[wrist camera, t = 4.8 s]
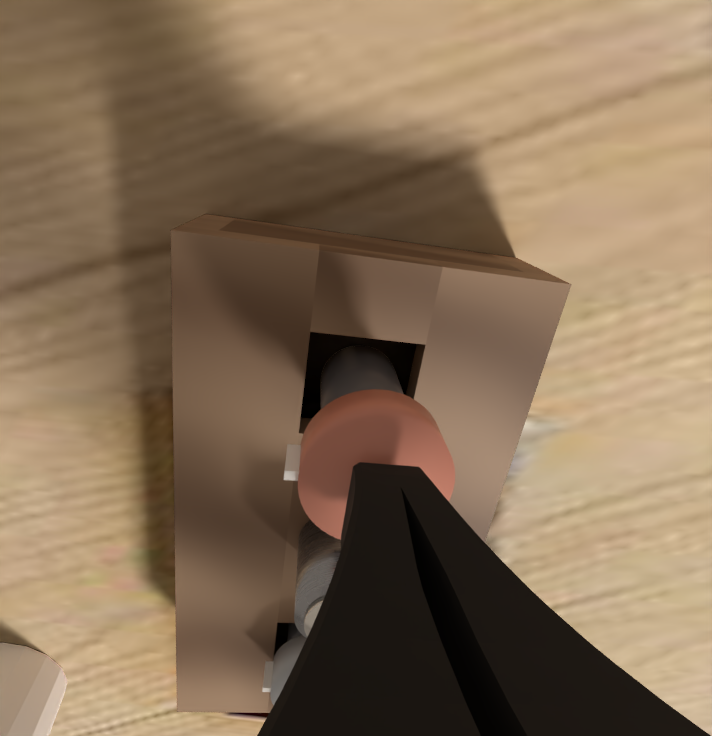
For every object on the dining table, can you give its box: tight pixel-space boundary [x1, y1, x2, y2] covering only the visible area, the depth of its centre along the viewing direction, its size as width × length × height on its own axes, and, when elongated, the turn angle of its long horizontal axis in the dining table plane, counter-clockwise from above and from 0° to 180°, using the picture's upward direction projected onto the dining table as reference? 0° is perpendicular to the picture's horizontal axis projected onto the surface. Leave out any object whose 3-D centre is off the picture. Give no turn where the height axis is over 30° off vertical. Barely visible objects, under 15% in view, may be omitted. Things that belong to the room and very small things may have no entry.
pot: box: [294, 520, 341, 638], centre depth 14 cm, size 3×3×4 cm
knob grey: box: [262, 623, 307, 705], centre depth 20 cm, size 3×4×5 cm
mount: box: [171, 214, 571, 713], centre depth 18 cm, size 20×11×4 cm, turn 172°
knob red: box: [284, 345, 455, 540], centre depth 12 cm, size 3×4×5 cm
